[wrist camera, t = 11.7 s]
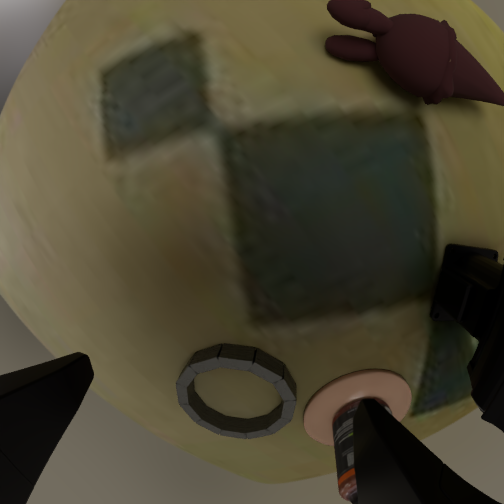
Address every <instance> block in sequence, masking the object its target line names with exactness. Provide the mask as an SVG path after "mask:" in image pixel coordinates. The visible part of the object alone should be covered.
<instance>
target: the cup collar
mask: <svg viewBox="0 0 504 504" xmlns="http://www.w3.org/2000/svg"><path fill="white" fill-rule="evenodd" d="M220 367H222V368H229V369H236V370H244V371H250V372H252V373H254V374H255V375H257V376H259V377H261V378H263V379H264V380H266V381H268V382H270V383H272V384H273V385H274V386H275V388H276V389H277V391H278V393H279V394H280V396H281V397H282V399H283V400H282V403H281V404H280V405H279V406H278V407H277V408H275V409H274V410H273V411H272V412H271V413H269V414H268V415H265V416H260V417H256V418H251V419H242V418H235V417H228V416H225V415H223V414H221V413H219V412H217V411H215V410H213V409H211V408H210V407H208V406H206V404H205V403H204V402H203V401H202V400H201V398H200V397H199V396H198V394H197V393H196V392H195V389H194V378H195V376H196V375H197V374H199V373H202V372H206V371H210V370H213V369H217V368H220ZM176 389H177V396H178V402H179V403H180V404H179V405H180V406H181V407H182V408H183V410H184V411H185V412H186V413H187V414H188V415H189V416H190V418H191V419H192V420H193V421H194V422H196V423H197V424H199V425H201V426H202V427H204V428H206V429H208V430H210V431H212V432H214V433H216V434H218V435H219V434H220V435H222V436H228V437H235V438H242V439H247V438H248V439H251V438H257V437H262V436H267V435H272V434H274V433H276V432H277V431H278V430H280V429H281V428H282V427H284V426H285V425H286V424H288V423H289V422H290V421H291V420H292V417H293V413H294V409H295V405H296V383H295V382H294V380H293V378H292V376H291V375H290V373H289V371H288V369H287V368H286V366H285V364H284V365H283V363H282V362H281V361H279V360H277V359H275V358H274V357H272V356H270V355H268V354H267V353H265V352H263V351H262V350H260V349H258V348H257V349H256V350H255V347H248V346H240V345H232V344H224V345H223V344H219V345H216V346H213V347H210V348H207V349H204V350H201V351H198V352H196V353H195V354H194V355H193V357H192V358H191V359H190V361H189V362H188V364H187V365H186V366H185V368H184V369H183V371H182V373H181V374H180V376H179V378H178V380H177V382H176Z"/></svg>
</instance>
